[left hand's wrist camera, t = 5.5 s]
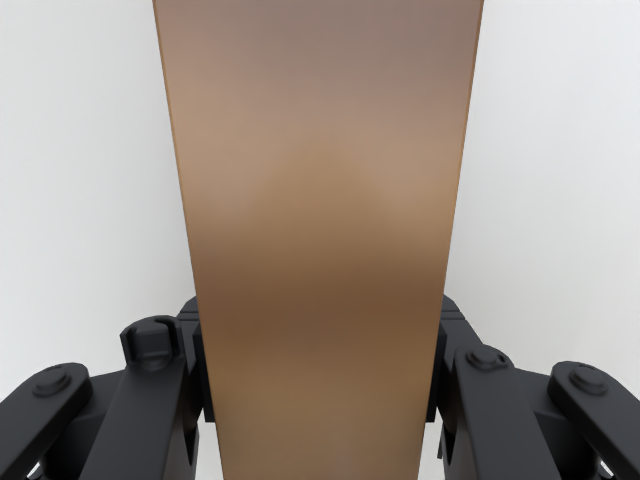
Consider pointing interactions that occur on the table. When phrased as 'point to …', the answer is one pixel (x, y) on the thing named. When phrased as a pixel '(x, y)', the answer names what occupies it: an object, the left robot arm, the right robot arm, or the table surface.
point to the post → (319, 218)
